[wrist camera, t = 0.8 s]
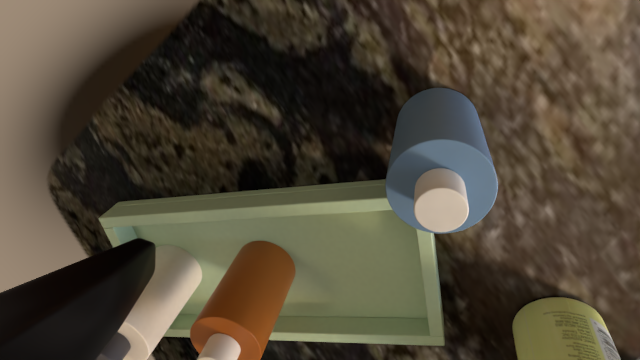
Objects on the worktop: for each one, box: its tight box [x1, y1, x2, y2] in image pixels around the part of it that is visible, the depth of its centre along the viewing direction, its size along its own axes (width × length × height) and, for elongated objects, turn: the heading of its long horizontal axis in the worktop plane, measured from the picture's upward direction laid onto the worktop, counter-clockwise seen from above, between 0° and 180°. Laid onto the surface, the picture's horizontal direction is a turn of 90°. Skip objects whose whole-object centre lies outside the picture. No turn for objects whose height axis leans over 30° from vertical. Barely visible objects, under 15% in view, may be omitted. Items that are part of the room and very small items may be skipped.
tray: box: [99, 179, 445, 346], centre depth 27 cm, size 11×21×2 cm, turn 102°
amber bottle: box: [190, 241, 296, 360], centre depth 24 cm, size 4×4×8 cm
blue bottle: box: [385, 88, 498, 233], centre depth 17 cm, size 4×4×8 cm
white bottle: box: [96, 245, 202, 360], centre depth 26 cm, size 4×4×8 cm
